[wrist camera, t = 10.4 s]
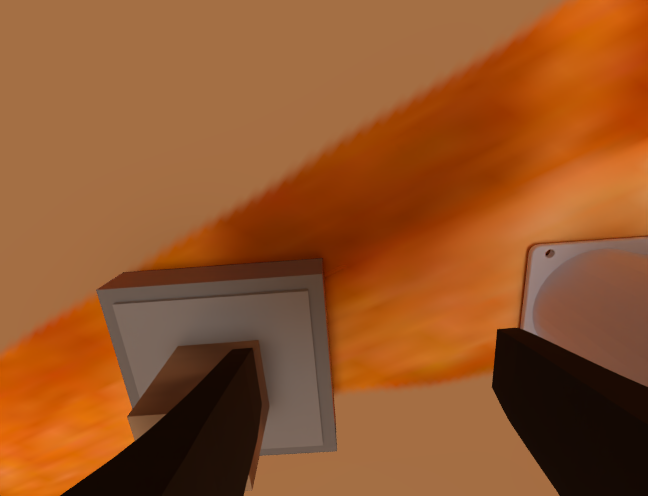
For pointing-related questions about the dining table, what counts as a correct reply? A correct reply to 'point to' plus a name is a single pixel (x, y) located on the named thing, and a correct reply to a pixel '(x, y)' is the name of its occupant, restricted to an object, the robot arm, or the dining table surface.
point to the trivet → (235, 336)
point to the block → (183, 377)
